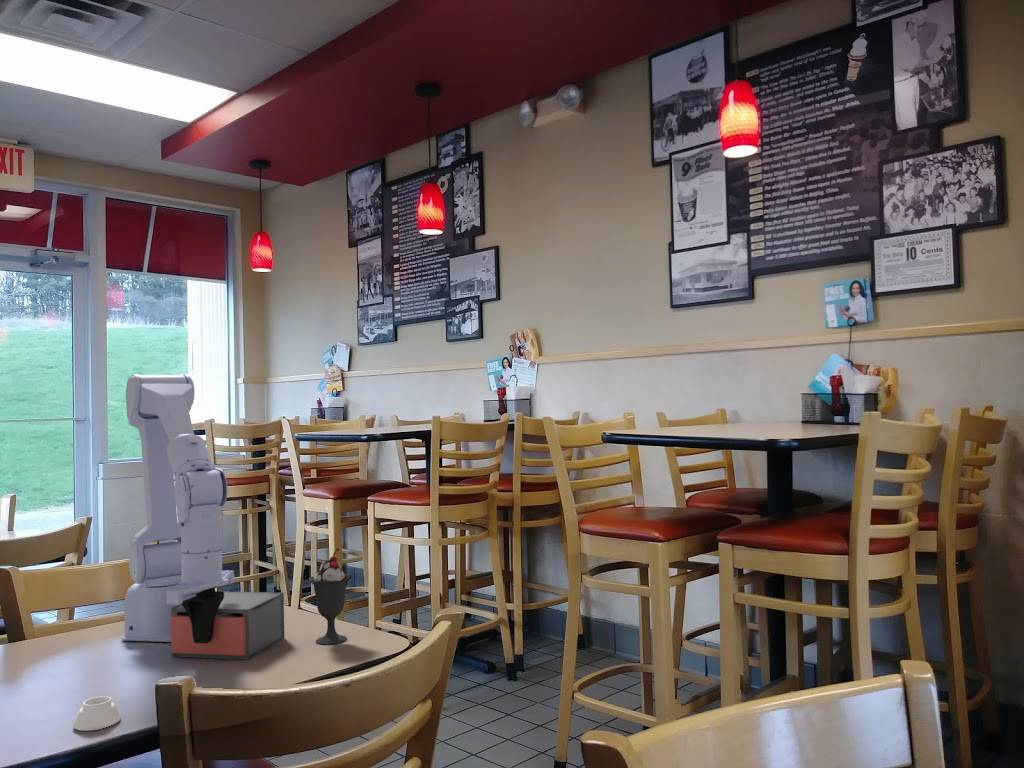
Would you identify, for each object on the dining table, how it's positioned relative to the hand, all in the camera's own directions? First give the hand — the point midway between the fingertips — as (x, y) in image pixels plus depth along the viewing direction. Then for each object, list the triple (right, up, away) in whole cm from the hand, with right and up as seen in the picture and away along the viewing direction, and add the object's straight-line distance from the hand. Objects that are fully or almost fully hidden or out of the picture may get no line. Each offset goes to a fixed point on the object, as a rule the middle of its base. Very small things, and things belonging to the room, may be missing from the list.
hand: (203, 642), depth 119 cm
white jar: (-4, -3, -24) cm, 24 cm away
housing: (+2, -3, +7) cm, 8 cm away
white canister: (+1, -2, +4) cm, 5 cm away
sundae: (+17, -3, +9) cm, 20 cm away
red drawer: (+1, -2, +6) cm, 7 cm away
